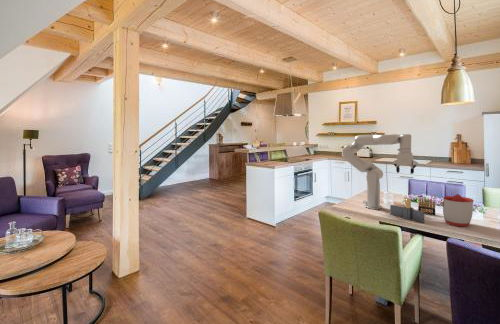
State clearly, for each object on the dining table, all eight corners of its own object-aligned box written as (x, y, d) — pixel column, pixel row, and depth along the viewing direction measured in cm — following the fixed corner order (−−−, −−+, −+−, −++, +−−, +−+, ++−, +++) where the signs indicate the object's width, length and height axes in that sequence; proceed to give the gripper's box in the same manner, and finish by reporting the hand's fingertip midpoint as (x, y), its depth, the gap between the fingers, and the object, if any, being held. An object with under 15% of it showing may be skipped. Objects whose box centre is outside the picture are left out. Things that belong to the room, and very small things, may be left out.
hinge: (387, 215, 190) (387, 205, 190) (392, 213, 195) (392, 203, 194) (423, 223, 172) (424, 212, 171) (428, 220, 176) (428, 210, 176)
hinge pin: (404, 218, 184) (404, 199, 182) (406, 217, 186) (406, 198, 184) (409, 219, 181) (409, 199, 180) (411, 218, 183) (411, 198, 182)
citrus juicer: (439, 218, 181) (440, 190, 179) (472, 222, 170) (473, 193, 168) (438, 224, 169) (438, 194, 167) (473, 229, 158) (474, 198, 156)
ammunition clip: (417, 212, 195) (418, 197, 193) (418, 212, 196) (418, 196, 195) (434, 215, 187) (435, 199, 186) (435, 214, 188) (435, 198, 187)
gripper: (391, 150, 198) (390, 172, 200) (416, 151, 185) (415, 174, 186) (395, 150, 203) (395, 171, 204) (420, 150, 189) (419, 173, 191)
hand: (404, 173), depth 195 cm, fingers open, 9 cm apart
